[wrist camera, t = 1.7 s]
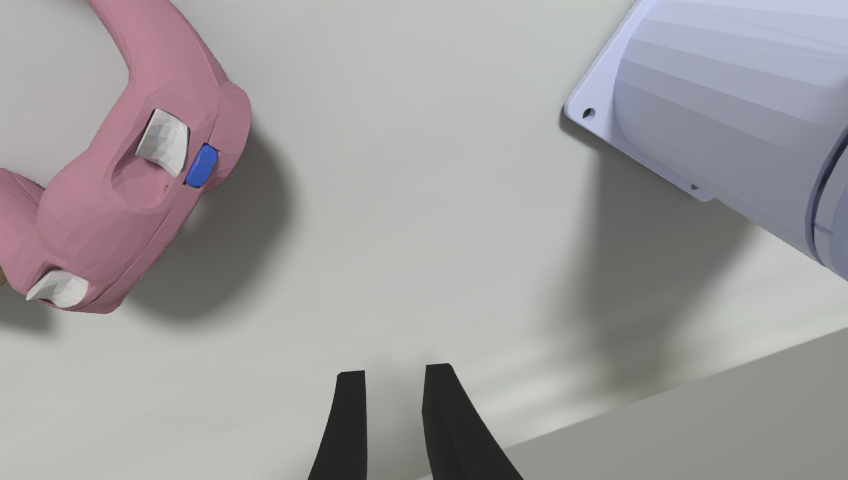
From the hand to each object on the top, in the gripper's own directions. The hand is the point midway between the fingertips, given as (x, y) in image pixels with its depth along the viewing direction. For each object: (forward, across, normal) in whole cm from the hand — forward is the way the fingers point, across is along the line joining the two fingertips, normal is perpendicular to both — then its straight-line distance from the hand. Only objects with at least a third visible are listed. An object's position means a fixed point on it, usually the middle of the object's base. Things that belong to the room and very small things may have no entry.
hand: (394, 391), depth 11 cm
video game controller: (+9, +8, -4) cm, 13 cm away
